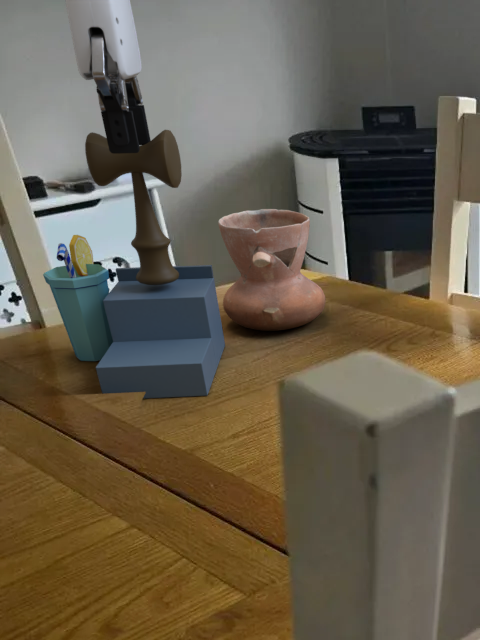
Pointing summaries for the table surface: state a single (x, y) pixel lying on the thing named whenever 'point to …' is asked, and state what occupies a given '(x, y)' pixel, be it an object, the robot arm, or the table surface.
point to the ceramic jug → (270, 270)
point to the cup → (81, 299)
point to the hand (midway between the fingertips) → (130, 147)
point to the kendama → (141, 195)
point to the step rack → (162, 335)
